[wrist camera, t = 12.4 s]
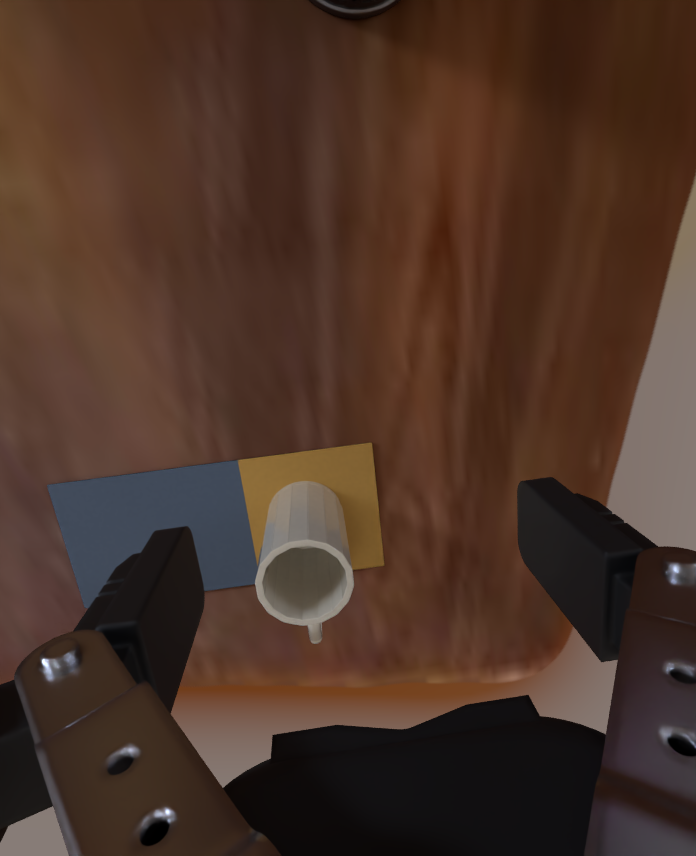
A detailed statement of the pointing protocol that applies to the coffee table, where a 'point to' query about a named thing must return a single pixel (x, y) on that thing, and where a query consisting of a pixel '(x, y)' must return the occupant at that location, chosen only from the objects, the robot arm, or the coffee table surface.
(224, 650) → the coffee table surface
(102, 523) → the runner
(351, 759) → the robot arm
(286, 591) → the mug
